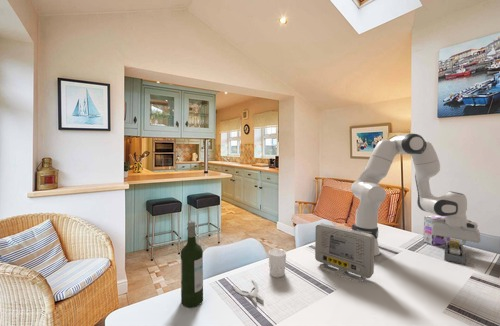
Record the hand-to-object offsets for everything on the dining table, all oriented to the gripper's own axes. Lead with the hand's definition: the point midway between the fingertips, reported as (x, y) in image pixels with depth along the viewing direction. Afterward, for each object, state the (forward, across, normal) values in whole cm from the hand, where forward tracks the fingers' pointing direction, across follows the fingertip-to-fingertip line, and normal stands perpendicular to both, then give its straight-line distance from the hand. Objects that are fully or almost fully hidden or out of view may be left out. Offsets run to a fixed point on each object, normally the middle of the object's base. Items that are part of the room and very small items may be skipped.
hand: (454, 246), depth 129 cm
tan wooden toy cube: (+2, 0, 0) cm, 2 cm away
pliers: (+5, -62, -101) cm, 118 cm away
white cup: (+4, -62, -82) cm, 103 cm away
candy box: (+4, -8, +12) cm, 15 cm away
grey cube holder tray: (+4, 0, -5) cm, 6 cm away
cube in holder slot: (+4, 0, -10) cm, 11 cm away
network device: (+4, -40, -61) cm, 73 cm away
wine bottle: (+4, -75, -119) cm, 141 cm away
